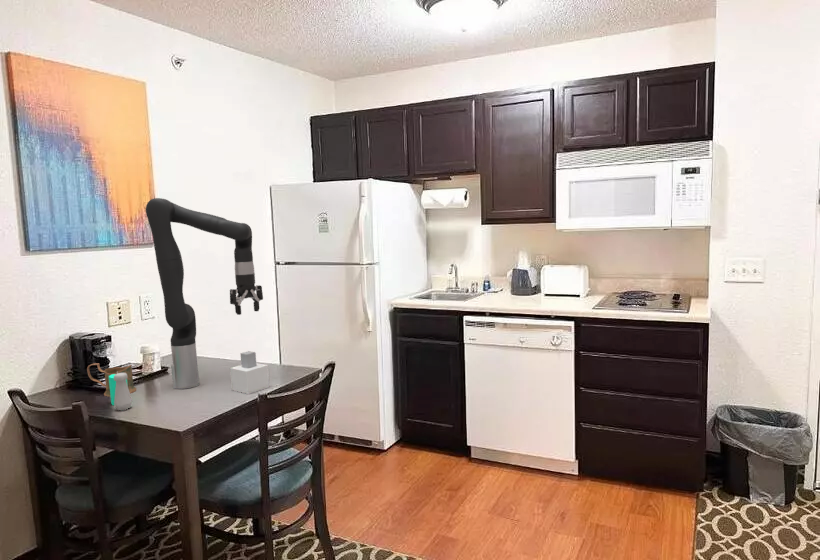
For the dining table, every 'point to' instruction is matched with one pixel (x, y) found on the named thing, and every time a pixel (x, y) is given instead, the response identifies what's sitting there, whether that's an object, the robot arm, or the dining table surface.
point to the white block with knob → (249, 374)
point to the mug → (114, 371)
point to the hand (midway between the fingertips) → (247, 312)
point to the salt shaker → (122, 392)
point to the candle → (112, 387)
